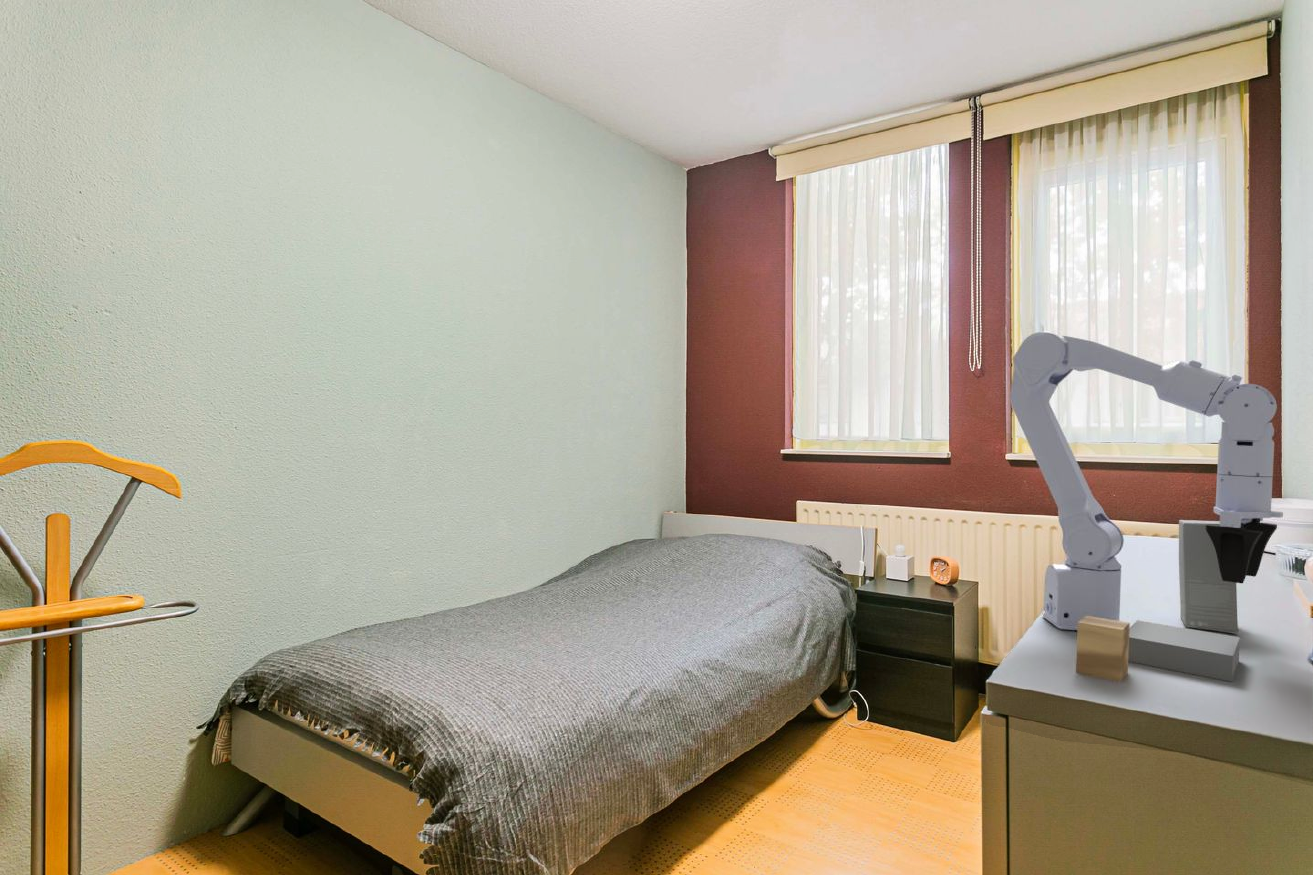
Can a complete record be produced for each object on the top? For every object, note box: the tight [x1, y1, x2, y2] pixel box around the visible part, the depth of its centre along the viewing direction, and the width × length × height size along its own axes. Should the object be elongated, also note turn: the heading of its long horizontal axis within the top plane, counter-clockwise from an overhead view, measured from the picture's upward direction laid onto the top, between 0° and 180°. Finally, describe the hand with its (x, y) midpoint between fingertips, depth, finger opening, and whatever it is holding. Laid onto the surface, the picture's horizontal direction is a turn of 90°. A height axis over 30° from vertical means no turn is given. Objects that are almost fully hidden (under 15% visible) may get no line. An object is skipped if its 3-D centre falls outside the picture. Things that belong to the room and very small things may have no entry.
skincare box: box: [1178, 519, 1239, 635], centre depth 111 cm, size 8×7×16 cm
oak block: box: [1075, 616, 1131, 683], centre depth 87 cm, size 4×4×6 cm
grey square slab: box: [1128, 619, 1241, 682], centre depth 93 cm, size 11×11×3 cm
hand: (1239, 578), depth 97 cm, fingers open, 7 cm apart
